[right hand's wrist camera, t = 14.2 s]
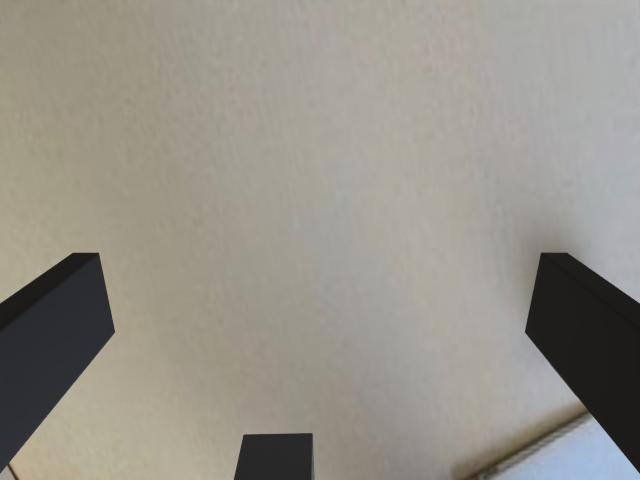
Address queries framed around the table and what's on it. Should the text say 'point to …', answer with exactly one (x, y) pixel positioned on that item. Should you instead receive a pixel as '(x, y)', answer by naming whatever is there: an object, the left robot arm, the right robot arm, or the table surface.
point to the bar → (276, 457)
